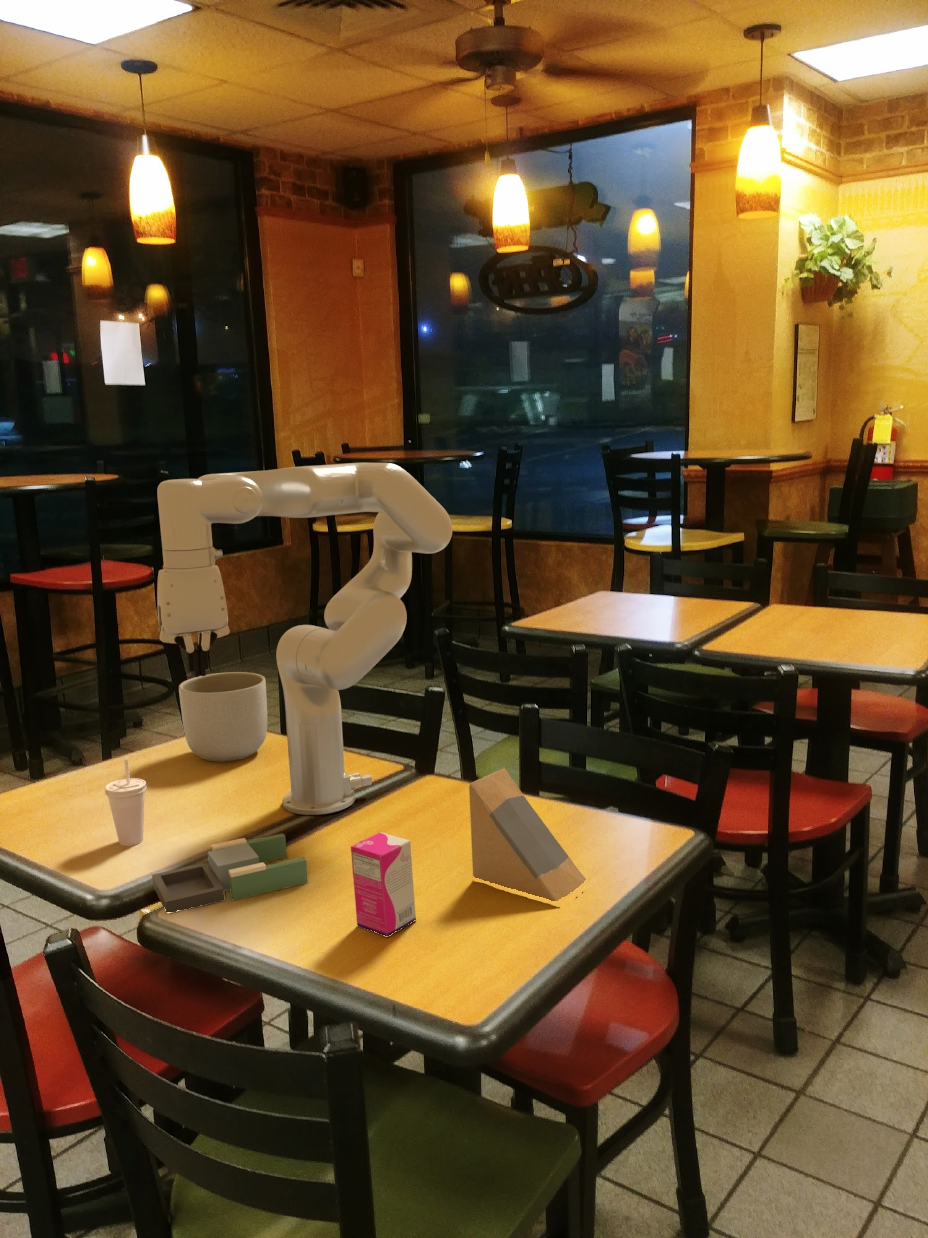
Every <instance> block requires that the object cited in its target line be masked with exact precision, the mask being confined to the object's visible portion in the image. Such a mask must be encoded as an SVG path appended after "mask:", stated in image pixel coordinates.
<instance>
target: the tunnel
mask: <svg viewBox="0 0 928 1238" xmlns="http://www.w3.org/2000/svg"><path fill="white" fill-rule="evenodd" d="M286 839H287V838H286V835H285V834H284V833H279V834H274V835H270V836H265V837H261V838H255V839H252V840H247V839H246V838H245V837H243V838H242V837H241V838H237V839H233V840H229V841H223V842H219V843H215V844H214V843H213V844H211V845H210V846H211V851H213V850H218V849H222V848H227V847H231V846H236V845H240V844H245V843H248V844H249V846H250V847H251V848H252V849H253V850H254V852H255V853H256V854H257V855H258V856H259V863H258V864H253V865H249V866H244V867H240V868H236V869H231V870H229V880H230V889H229V890H230V898H231V900H232V901H238V900H241V899H246V898H250V897H254V896H258V895H262V894H267V893H271V892H275V891H278V890H279V891H280V890H284V889H287V888H291V887H295V886H299V885H303V884H308V883H309V877H308V863H307V862H308V861H307V859H306V858H305V857H304V856H302V857H298V858H293V859H289V860H286V861H281V862H276V863H272V864H267V865H266V864H265V863H268V862H273V861H277V860H281V859H286V858H288V857H287V856H288V855H287V840H286Z"/></svg>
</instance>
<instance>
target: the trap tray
mask: <svg viewBox="0 0 928 1238" xmlns="http://www.w3.org/2000/svg"><path fill="white" fill-rule="evenodd" d="M151 877H152V887H153V889H154V891H155V893H156V896H157V897H158V899H159V901H160V904H161V905H162V907H163V908H164V907H165V909H166V911H165V913H166V912H174V913H177V912H176V911H177V910H182V911H185V910H184V909H187V910H190V909H189V908H191V907H195V908H199V907H201V906H200V905H203V906H207V905H211V904H216V903H219V902H223V901H225V900H226V898H225V890H224V888H223V886H222V885H221V883H220V882H219V880H218V879H217V877H216V876H215V874H214V872H213V871H212V869H211V868H210V866H209V863H208V862H203V863H199V864H194V865H190V866H185V867H181V868H176V869H173V870H172V869H171V870H168V871H163V872H158V873H155V874H151ZM198 906H199V907H198ZM165 909H164V910H165ZM191 909H192V908H191Z"/></svg>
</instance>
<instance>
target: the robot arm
mask: <svg viewBox="0 0 928 1238" xmlns="http://www.w3.org/2000/svg"><path fill="white" fill-rule="evenodd" d="M156 490H157V504H158V515H159V525H160V536H161V537H160V538H161V548H162V559H163V560H162V561H163V569H160V570H158V576H157V584H156V585H157V588H156V589H157V590H156V592H157V597H156V599H157V600H156V602H157V620H158V621H157V622H158V626H159V629H160V634H159V640H160V641H161V642H162V643H164V644H165V643H167V644H176V645H178V646H179V647H181V648H182V649H183V650H184V651H185V655H186V667H187V671H188V672H190V673H191V675H192V676H193V678H195V677H199V676H206V675H207V673H206V672H207V671H206V670H209V669H210V667H209V657H208V651H209V649H210V647H211V646H212V645H213V643H214V642H215V641H216V640H217V639H218V638H223V637H224V636H227V635H229V634H230V632H231V630H230V628H229V625H228V623H229V614H228V613H229V612H228V605H227V599H226V593H225V588H224V587H225V586H224V583H223V579H222V576H221V571H220V568H219V566H218V565H216V560H218V559H222V558H223V549H217V548H215V547H214V546H213V538H212V537H213V536H212V535H213V533H212V524H218V523H220V524H233V525H235V524H244V523H246V522H249V521H251V520H253V519H254V518H255V517H279V518H280V517H281V518H282V517H283V518H289V519H290V518H294V519H296V518H297V519H300V518H301V519H302V518H304V519H305V518H316V517H317V518H318V517H323V516H324V517H325V516H335V515H343V514H353V513H354V514H356V513H365V512H367V513H369V512H370V513H377V514H376V517H375V520H374V522H373V532H372V533H373V550H372V551H373V552H372V555H371V558H370V559H369V561H368V563H366V564H365V565H364V567H363V568H362V569H361V570H360V571H359V572H358V573H357V574H356V575H355V576H354V577H353V578H351V579H350V580H349V581H348V582H347V583H346V584H345V585H344V586H343V587H342V588H341V589H340V590H339V591H337V593H336V594H334V595H333V597H332V598H331V599H330V600H329V601H328V602H327V604H326V607H325V609H324V613H323V614H324V616H323V617H324V618H323V619H324V622H325V625H326V627H327V628H326V627H321V626H316V625H312V624H302V625H301V624H300V625H296V626H293V627H290V629H289V628H288V630H286V631H285V632H284V633H283V635H281V637H280V639H279V640H278V643H277V647H276V656H275V657H276V665H277V670H278V674H279V678H280V681H281V685H282V686H281V687H282V690H283V698H284V699H283V701H284V706H285V707H284V708H285V709H284V710H285V722H286V725H285V726H286V737H287V738H286V740H287V751H288V752H287V754H288V755H287V756H288V766H289V767H288V768H289V779H290V780H289V782H290V791H289V792H287V793H286V794H285V795H284V796H283V798H282V806H283V808H284V809H285V810H286V811H287V812H290V813H293V814H298V815H305V816H316V815H317V816H320V815H327V814H333V813H336V812H337V813H338V812H340V811H343V810H345V809H346V808H348V807H350V806H352V805H353V804H354V802H355V801H356V793H355V790H356V788H357V787H358V788H359V787H366V786H371V785H372V783H373V778H372V775H371V774H370V773H369V774H368V773H367V774H362V775H360V773H359V772H356V773H351V774H347V772H345V759H344V756H345V755H344V739H343V737H344V736H343V723H342V722H343V721H342V716H343V715H342V714H343V713H342V705H341V703H342V702H341V698H340V693H339V691H340V690H341V691H342V690H346V689H348V688H351V687H352V686H353V685H355V684H357V683H358V682H359V681H361V679H363V678H364V677H365V676H366V675H367V674H368V673H369V672H370V671H371V670H372V669H373V668H374V667H375V666H376V664H378V663H379V662H380V661H381V660H382V659H383V657H385V656H386V655H387V654H388V653H389V652H390V651H391V650H392V649H393V647H395V645H396V644H397V643H398V642H399V640H400V639H401V638H402V636H403V633H404V631H405V628H406V625H407V619H408V617H407V616H408V615H407V610H406V606H405V604H404V602H403V601H402V600H401V598H402V597H403V596H404V594H406V592H407V590H408V589H409V587H410V584H411V581H412V575H413V573H412V571H413V555H412V553H419V554H436V553H438V552H440V551H442V550H444V549H445V548H446V547H447V546H448V545H449V543H450V541H451V538H452V536H453V524H452V520H451V518H450V515H449V513H448V512H447V510H446V509H445V508H444V507H443V506H442V505H441V503H440V502H438V501H437V500H436V498H435V497H434V496H432V495H431V494H430V492H428V490H427V489H425V487H424V486H423V485H421V483H419V481H418V480H417V479H415V477H414V476H412V475H411V474H410V473H409V472H407V470H405V469H404V468H402V467H401V466H399V465H397V464H395V463H391V462H351V463H349V462H348V463H338V464H337V463H335V464H334V463H333V464H322V465H303V466H292V467H291V466H290V467H285V468H284V467H282V468H277V469H276V468H275V469H268V470H256V471H240V472H239V471H238V472H223V473H210V474H205V475H202V476H199V477H198V478H178V479H167V480H164V481H162V482H160V483H159V485H158V486H157V489H156ZM194 633H196V634H197V633H198V639H197V645H196V647H195V646H194V645H195V644H194V641H193V638H192V634H194Z"/></svg>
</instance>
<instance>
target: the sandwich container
mask: <svg viewBox="0 0 928 1238" xmlns="http://www.w3.org/2000/svg"><path fill="white" fill-rule="evenodd" d="M468 790H469V793H468V794H469V812H470V813H469V814H470V818H469V819H470V833H471V834H470V836H471V837H470V838H471V857H472V858H471V860H472V861H471V862H472V877H473V876H474V877H475V878H479V879H482V880H484V881H489V882H490V883H495V884H498V885H501V886H504V887H507V888H511V889H516V890H518V891H522V892H526V893H528V894H532V895H535V896H539V897H543V898H546V899H549V900H551V901H558V900H559V899H561V898H562V897H565V896H567V895H568V894H570V892H573V891H574V890H575V889H576V888H578V887H579V886H580V885H581V884H582V883H584V881H585V880H586V879H587V878H586V877H585V876H584V874H583V873H582V871H581V870H580V869H579V868H578V867H577V865H576V864H575V863H574V861H573V859H571V857H570V856H569V855H568V853H567V851H565V849H564V848H563V847H562V845H561V844H560V843H559V842H558V840H557V839H556V837H555V836H554V835H553V833H552V831H551V830H550V829H549V828H548V826H547V825H546V823H544V821H543V820H542V818H541V817H540V815H539V814H538V813H537V812H536V810H535V809H534V808H533V806H532V805H531V803H530V802H529V801H528V799H527V798H526V797H525V795H524V794H523V792H522V791H521V789H520V788H519V787H518V786H517V784H516V783H515V781H514V780H513V778H512V777H511V776H510V774H509V773H508V771H507V770H506V768H504V767H503V768H500V769H499V770H497V771H494V772H492V773H489V774H487V775H484V776H483V777H481V778H479V779H476V780H474V781H472V782H470V783H469V785H468Z"/></svg>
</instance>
